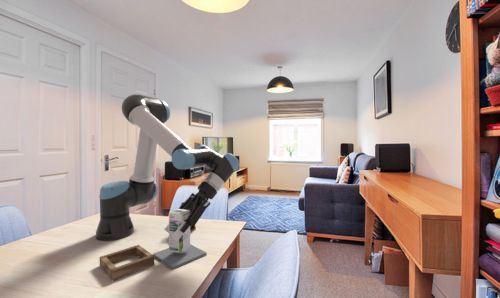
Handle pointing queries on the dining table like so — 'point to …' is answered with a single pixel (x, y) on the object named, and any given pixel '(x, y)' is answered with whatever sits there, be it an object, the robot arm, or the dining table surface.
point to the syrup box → (174, 222)
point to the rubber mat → (179, 256)
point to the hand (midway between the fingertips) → (170, 235)
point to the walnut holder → (128, 268)
